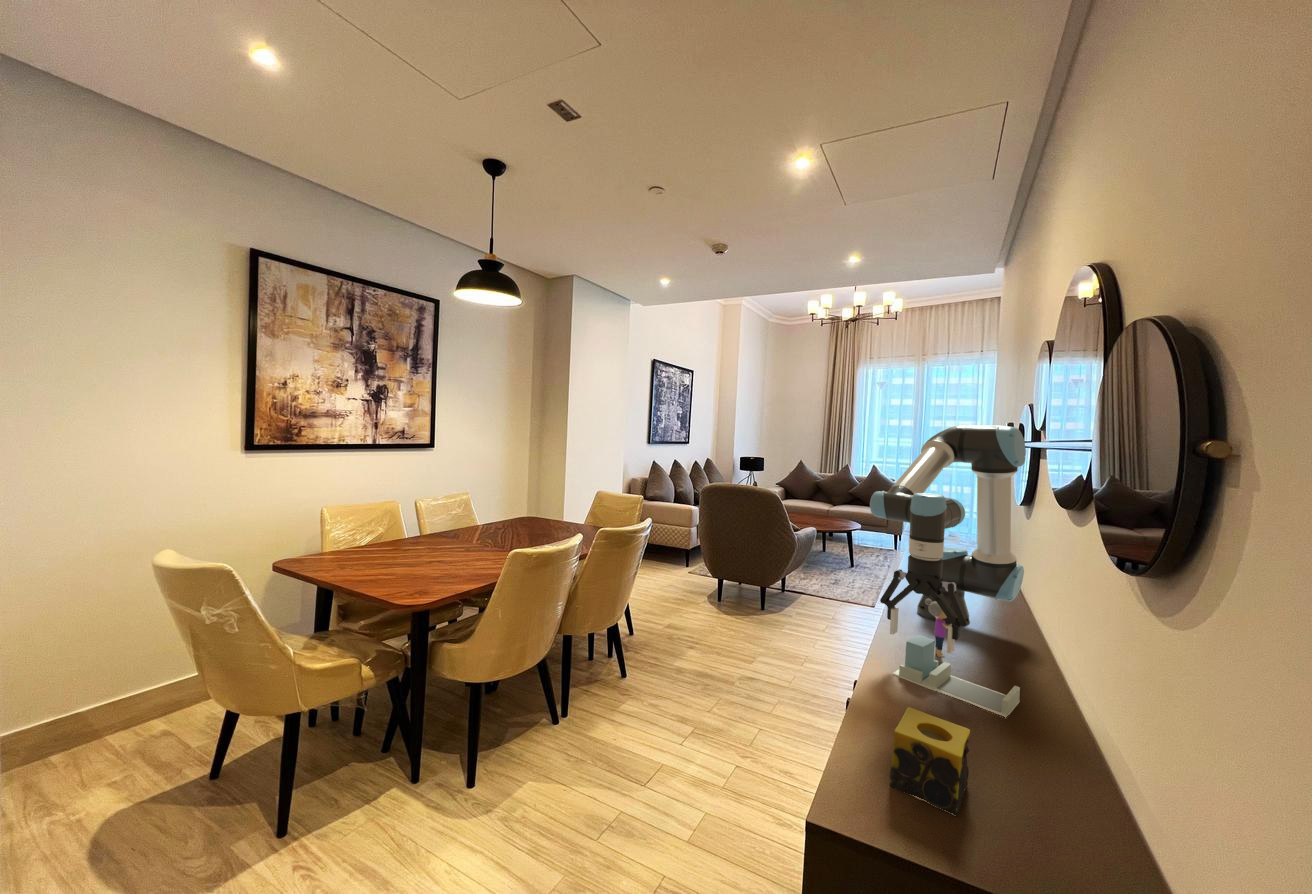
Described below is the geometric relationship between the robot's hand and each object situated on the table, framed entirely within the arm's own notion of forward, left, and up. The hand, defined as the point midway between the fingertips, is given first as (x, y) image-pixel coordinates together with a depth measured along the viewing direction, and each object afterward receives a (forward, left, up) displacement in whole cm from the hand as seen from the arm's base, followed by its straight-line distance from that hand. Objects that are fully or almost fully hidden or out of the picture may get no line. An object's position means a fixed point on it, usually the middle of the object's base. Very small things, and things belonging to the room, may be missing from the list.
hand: (920, 642), depth 124 cm
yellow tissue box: (+42, +17, -8) cm, 46 cm away
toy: (-16, -2, -8) cm, 18 cm away
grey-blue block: (+1, 0, -7) cm, 8 cm away
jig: (+1, +8, -8) cm, 11 cm away
